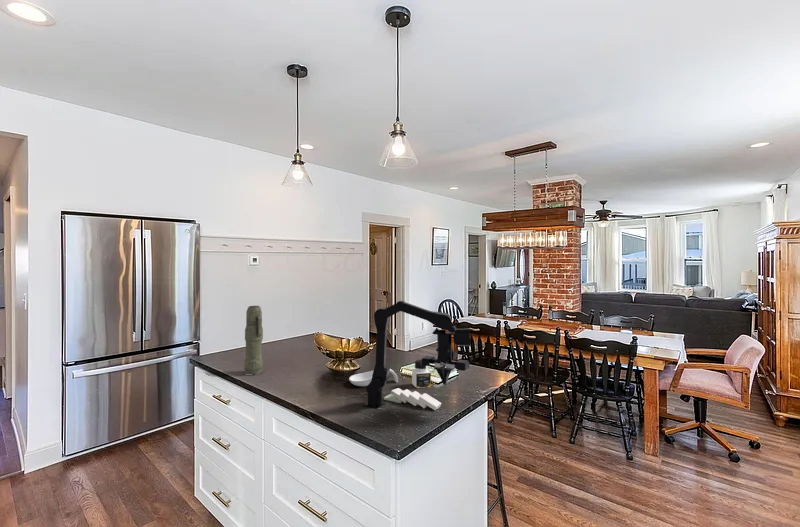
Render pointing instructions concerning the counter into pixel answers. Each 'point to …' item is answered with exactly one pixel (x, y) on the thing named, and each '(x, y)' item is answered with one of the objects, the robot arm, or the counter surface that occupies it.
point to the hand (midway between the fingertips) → (444, 384)
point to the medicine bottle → (421, 375)
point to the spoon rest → (366, 378)
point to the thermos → (253, 340)
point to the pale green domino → (392, 398)
